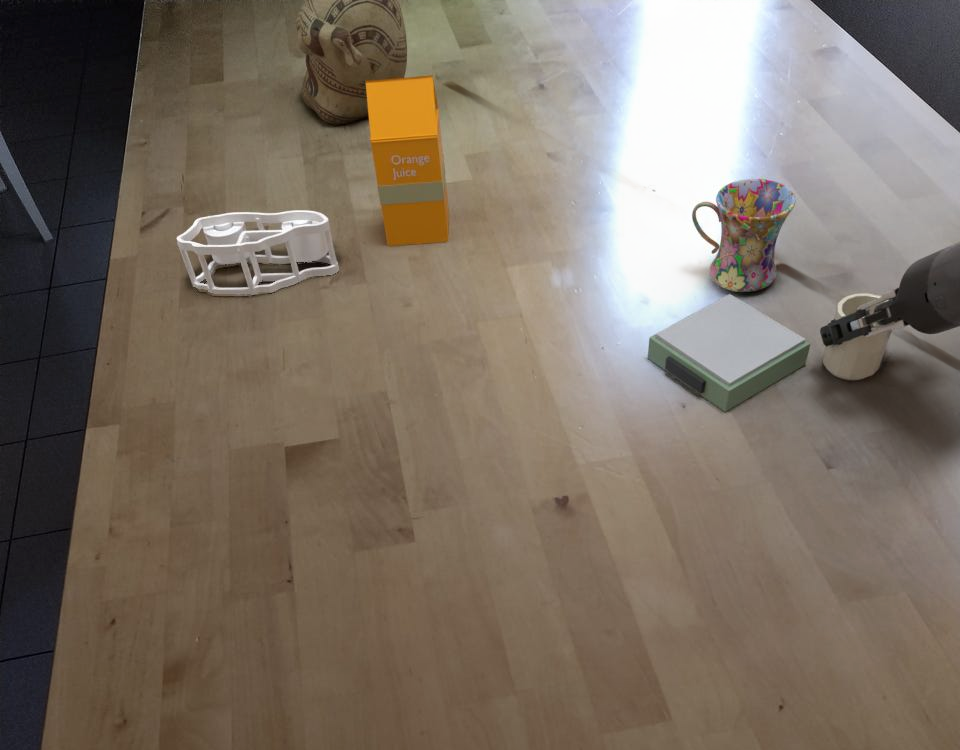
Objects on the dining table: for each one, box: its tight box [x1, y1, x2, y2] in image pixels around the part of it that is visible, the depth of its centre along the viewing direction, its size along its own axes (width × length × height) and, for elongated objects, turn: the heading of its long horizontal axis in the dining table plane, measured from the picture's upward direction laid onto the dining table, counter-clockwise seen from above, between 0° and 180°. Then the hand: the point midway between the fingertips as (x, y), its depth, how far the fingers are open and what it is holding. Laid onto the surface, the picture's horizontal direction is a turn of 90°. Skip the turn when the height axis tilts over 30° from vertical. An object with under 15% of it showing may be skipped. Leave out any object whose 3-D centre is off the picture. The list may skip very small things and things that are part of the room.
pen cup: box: [822, 292, 894, 381], centre depth 101 cm, size 6×6×8 cm
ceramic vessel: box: [295, 0, 408, 126], centre depth 142 cm, size 19×21×30 cm
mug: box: [691, 178, 797, 293], centre depth 112 cm, size 12×9×11 cm
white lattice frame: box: [176, 209, 340, 295], centre depth 122 cm, size 20×11×7 cm, turn 85°
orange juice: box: [365, 75, 450, 247], centre depth 121 cm, size 8×9×20 cm
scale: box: [647, 293, 812, 413], centre depth 105 cm, size 14×13×4 cm
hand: (849, 326), depth 102 cm, fingers closed on pen cup, 6 cm apart
